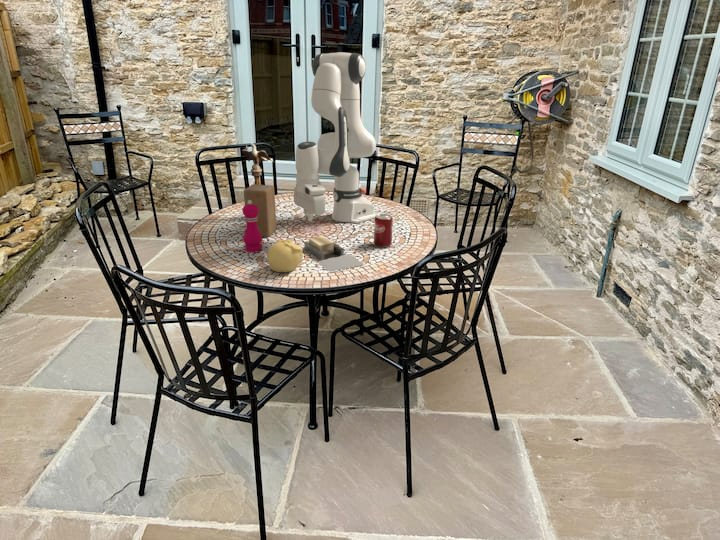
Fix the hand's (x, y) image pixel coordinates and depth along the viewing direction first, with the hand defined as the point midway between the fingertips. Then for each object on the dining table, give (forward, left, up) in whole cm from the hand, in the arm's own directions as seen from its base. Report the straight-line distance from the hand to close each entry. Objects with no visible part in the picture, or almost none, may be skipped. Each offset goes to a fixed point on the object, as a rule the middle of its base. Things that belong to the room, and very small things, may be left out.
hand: (309, 220), depth 190 cm
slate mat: (-1, +24, -10) cm, 26 cm away
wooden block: (+11, -22, -10) cm, 27 cm away
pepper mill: (+21, -6, -10) cm, 25 cm away
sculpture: (+18, +17, -10) cm, 27 cm away
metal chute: (-1, +11, -10) cm, 15 cm away
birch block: (-1, +9, -10) cm, 13 cm away
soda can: (-26, +15, -10) cm, 31 cm away
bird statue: (+3, -45, -10) cm, 46 cm away
